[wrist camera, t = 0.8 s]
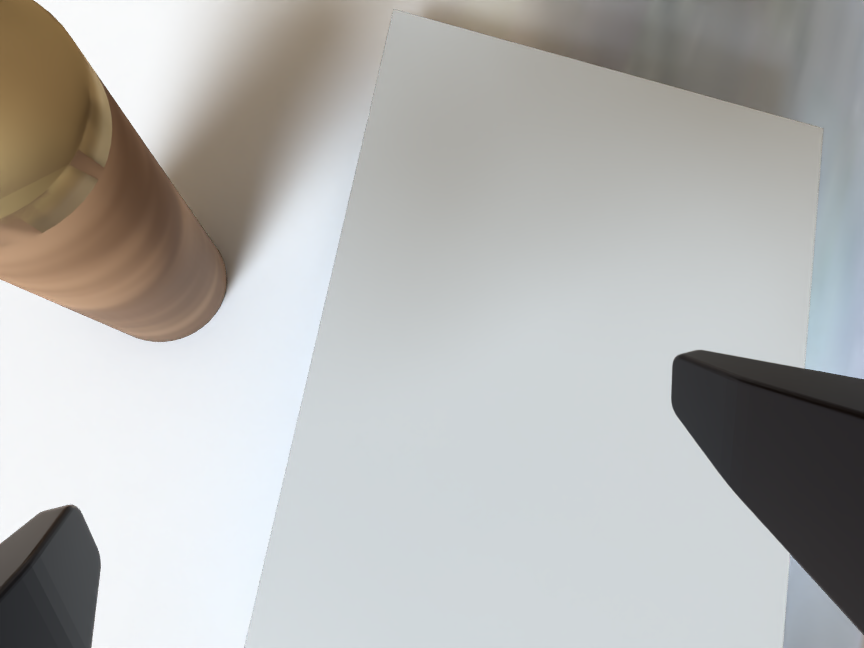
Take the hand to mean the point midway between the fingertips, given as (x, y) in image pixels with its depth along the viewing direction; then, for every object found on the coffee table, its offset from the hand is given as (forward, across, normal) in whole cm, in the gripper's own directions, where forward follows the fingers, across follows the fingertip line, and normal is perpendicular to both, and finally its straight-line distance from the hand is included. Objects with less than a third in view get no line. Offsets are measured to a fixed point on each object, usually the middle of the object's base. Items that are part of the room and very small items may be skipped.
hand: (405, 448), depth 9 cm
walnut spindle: (+15, +6, +1) cm, 16 cm away
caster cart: (+12, -6, +7) cm, 15 cm away
